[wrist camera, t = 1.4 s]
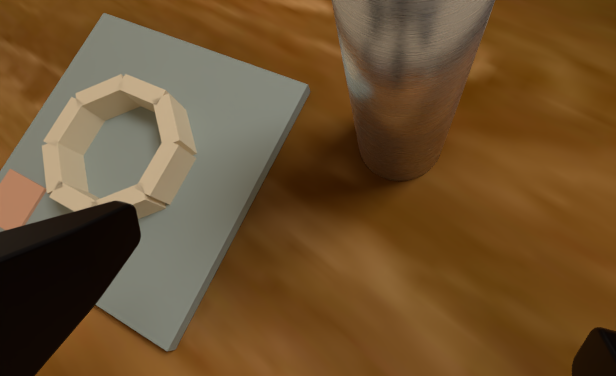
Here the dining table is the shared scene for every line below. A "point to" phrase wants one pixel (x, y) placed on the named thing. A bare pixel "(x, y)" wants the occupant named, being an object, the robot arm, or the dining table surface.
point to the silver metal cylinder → (407, 75)
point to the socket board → (153, 160)
